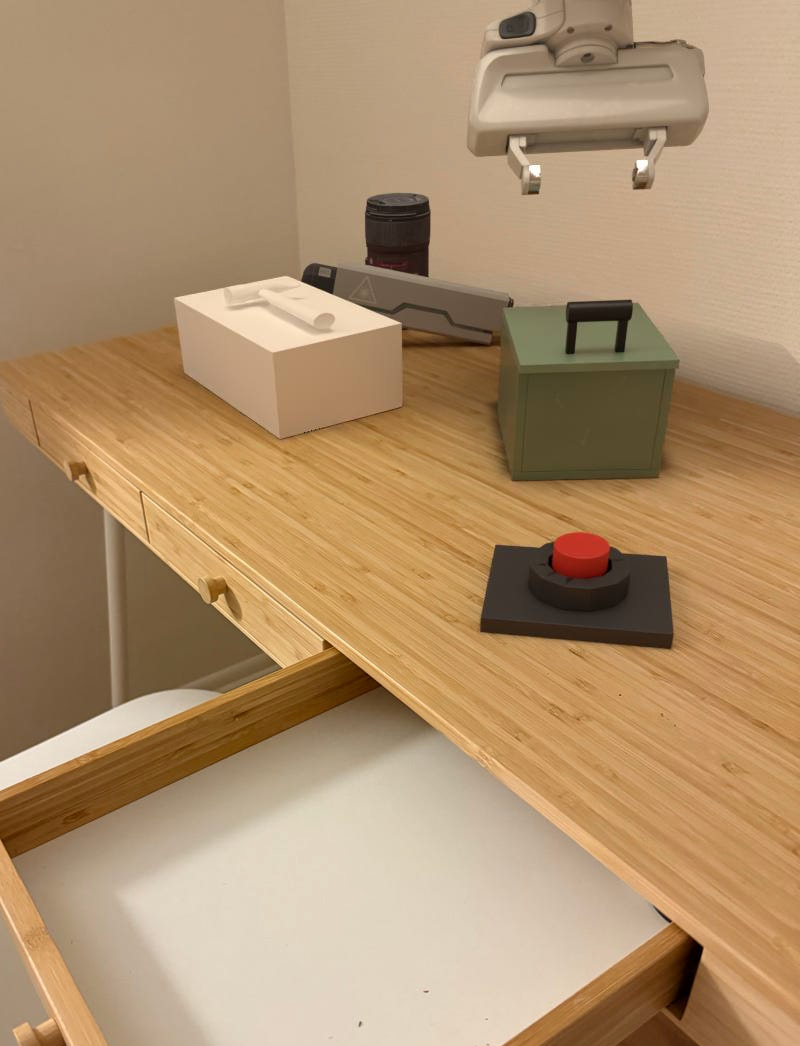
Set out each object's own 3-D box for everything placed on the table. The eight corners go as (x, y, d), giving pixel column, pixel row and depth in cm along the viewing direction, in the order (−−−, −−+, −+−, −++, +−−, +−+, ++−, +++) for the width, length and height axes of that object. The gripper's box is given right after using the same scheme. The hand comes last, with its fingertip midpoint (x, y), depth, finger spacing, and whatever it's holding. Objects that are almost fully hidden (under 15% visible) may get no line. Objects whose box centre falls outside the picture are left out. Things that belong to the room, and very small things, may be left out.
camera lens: (385, 335, 120) (383, 207, 112) (357, 320, 126) (352, 197, 118) (441, 324, 123) (443, 198, 114) (410, 310, 129) (410, 189, 121)
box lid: (678, 369, 77) (688, 306, 74) (519, 374, 78) (523, 312, 75) (637, 311, 90) (644, 256, 87) (502, 315, 91) (504, 262, 88)
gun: (293, 335, 118) (306, 252, 113) (491, 375, 119) (514, 293, 113) (290, 341, 116) (304, 257, 110) (492, 382, 117) (515, 299, 111)
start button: (607, 556, 65) (610, 533, 64) (606, 583, 62) (610, 560, 61) (553, 552, 66) (555, 530, 65) (550, 579, 63) (552, 556, 62)
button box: (662, 582, 69) (670, 533, 66) (668, 662, 61) (678, 610, 59) (493, 569, 72) (496, 522, 69) (479, 645, 64) (481, 594, 61)
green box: (658, 477, 83) (676, 366, 77) (511, 480, 84) (518, 371, 78) (624, 411, 96) (637, 311, 90) (497, 414, 97) (502, 316, 91)
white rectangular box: (291, 348, 118) (284, 255, 112) (402, 406, 100) (401, 299, 94) (184, 372, 113) (170, 276, 107) (280, 439, 95) (270, 327, 88)
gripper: (692, 67, 86) (701, 205, 84) (463, 81, 88) (466, 216, 86) (713, 9, 80) (724, 156, 78) (467, 25, 82) (470, 169, 79)
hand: (587, 188), depth 82 cm, fingers open, 8 cm apart
